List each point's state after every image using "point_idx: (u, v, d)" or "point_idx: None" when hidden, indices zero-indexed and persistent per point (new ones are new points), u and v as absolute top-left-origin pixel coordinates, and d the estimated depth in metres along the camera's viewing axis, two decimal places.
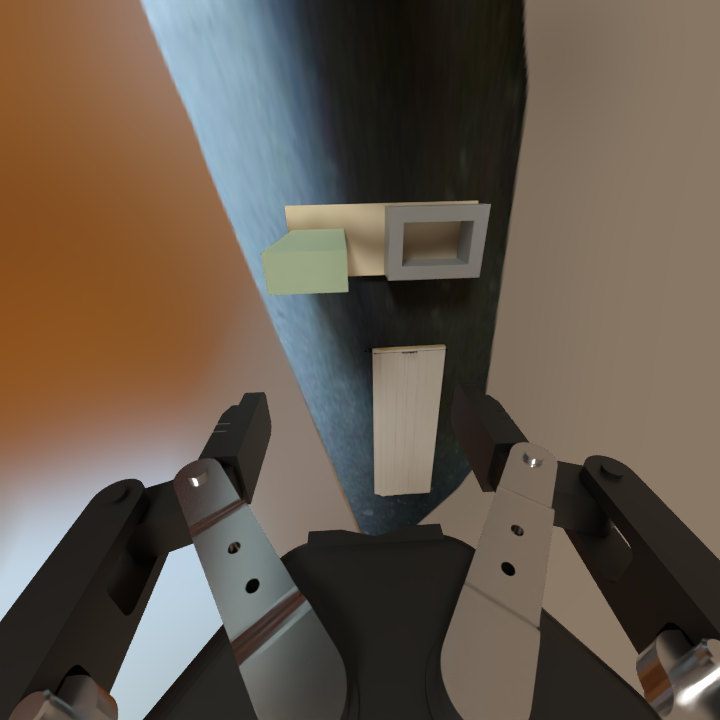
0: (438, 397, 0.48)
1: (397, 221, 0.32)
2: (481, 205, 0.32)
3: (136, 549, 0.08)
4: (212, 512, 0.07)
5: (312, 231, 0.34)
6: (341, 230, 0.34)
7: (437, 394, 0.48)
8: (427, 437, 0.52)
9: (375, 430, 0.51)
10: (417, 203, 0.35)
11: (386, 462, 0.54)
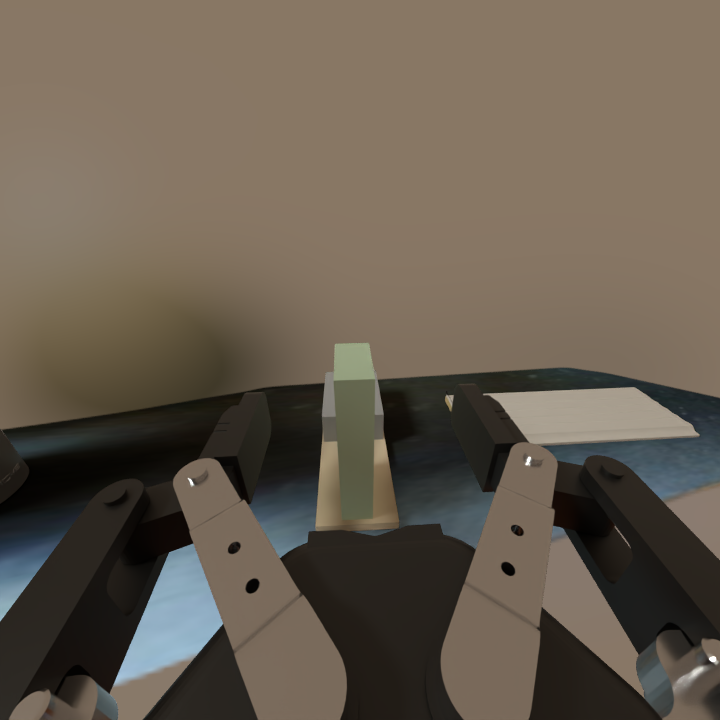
0: (501, 394, 0.48)
1: (333, 412, 0.38)
2: (326, 375, 0.46)
3: (136, 549, 0.08)
4: (212, 512, 0.07)
5: None
6: None
7: (498, 395, 0.48)
8: (556, 396, 0.47)
9: (583, 439, 0.40)
10: None
11: (625, 424, 0.42)
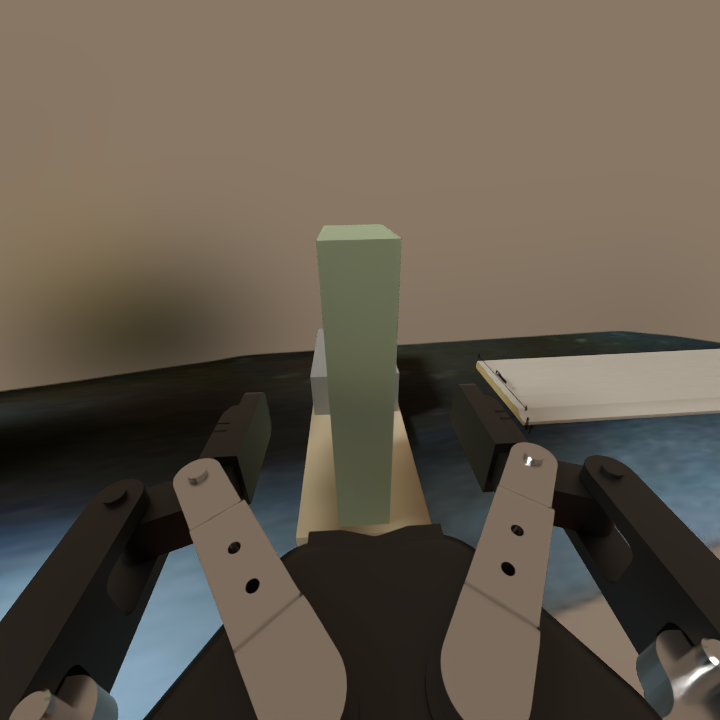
0: (550, 358, 0.37)
1: None
2: (318, 332, 0.34)
3: (136, 549, 0.08)
4: (212, 512, 0.07)
5: None
6: None
7: (546, 359, 0.36)
8: (623, 359, 0.36)
9: (680, 410, 0.28)
10: None
11: None
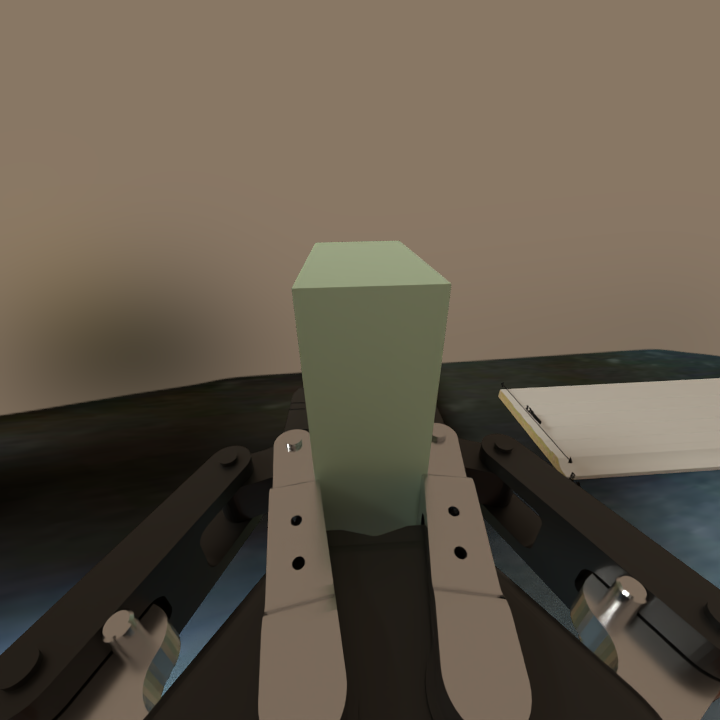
0: (585, 386, 0.31)
1: None
2: None
3: (234, 510, 0.09)
4: (293, 480, 0.08)
5: None
6: None
7: (581, 388, 0.31)
8: (671, 388, 0.31)
9: None
10: None
11: None
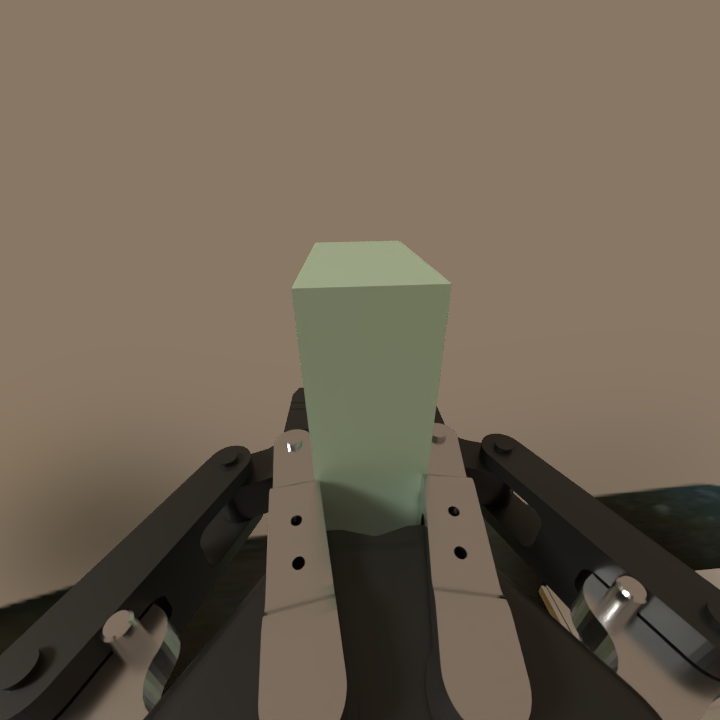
0: None
1: None
2: None
3: (234, 510, 0.09)
4: (293, 480, 0.08)
5: None
6: None
7: None
8: None
9: None
10: None
11: None
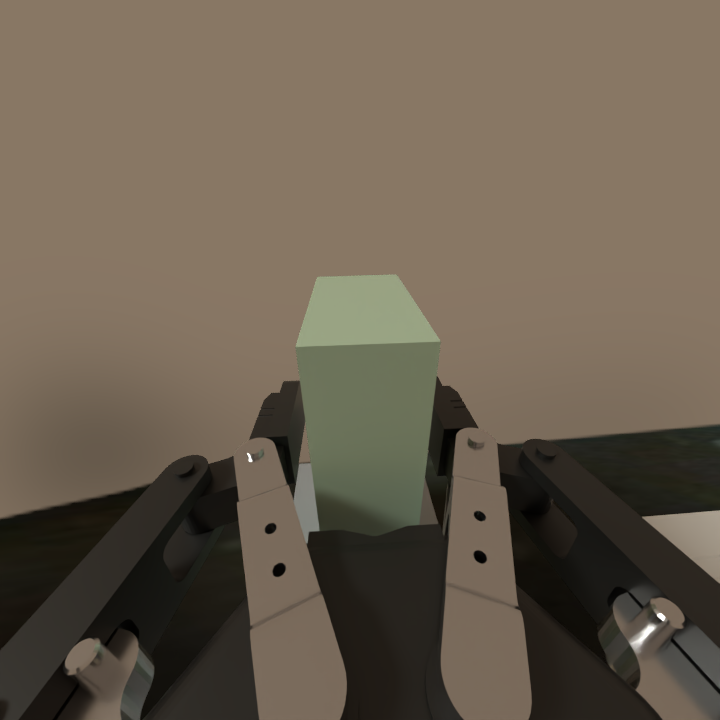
0: None
1: None
2: (299, 476, 0.18)
3: (195, 521, 0.09)
4: (260, 489, 0.08)
5: None
6: None
7: (717, 518, 0.20)
8: None
9: None
10: None
11: None
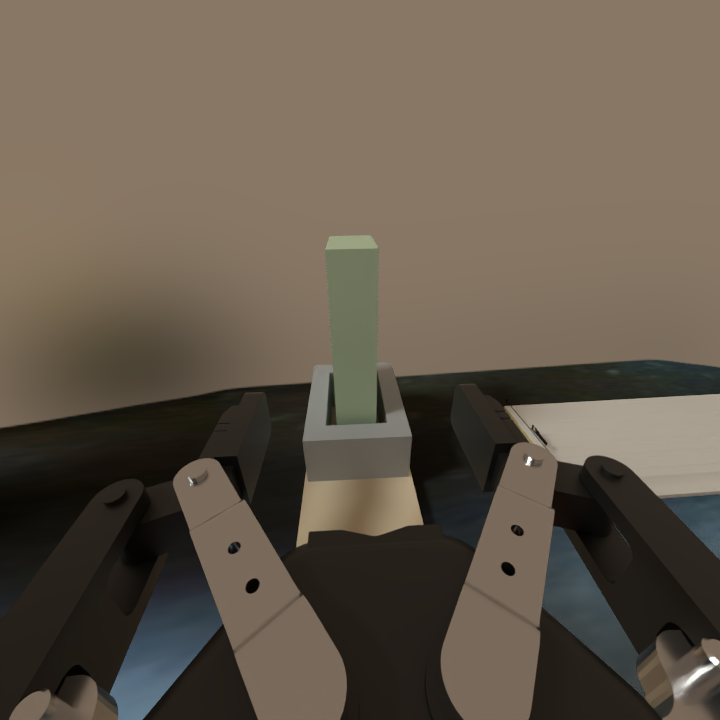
0: (590, 403, 0.31)
1: (323, 432, 0.22)
2: (314, 370, 0.29)
3: (136, 549, 0.08)
4: (212, 512, 0.07)
5: None
6: None
7: (586, 404, 0.31)
8: (677, 405, 0.30)
9: None
10: None
11: None
